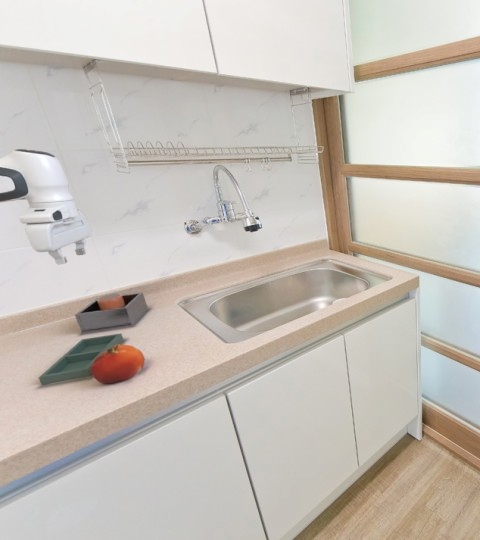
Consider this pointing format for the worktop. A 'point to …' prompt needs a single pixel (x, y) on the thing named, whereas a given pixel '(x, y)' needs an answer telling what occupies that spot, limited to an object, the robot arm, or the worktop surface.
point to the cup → (111, 301)
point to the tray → (79, 359)
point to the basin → (112, 315)
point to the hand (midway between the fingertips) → (72, 258)
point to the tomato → (117, 364)
